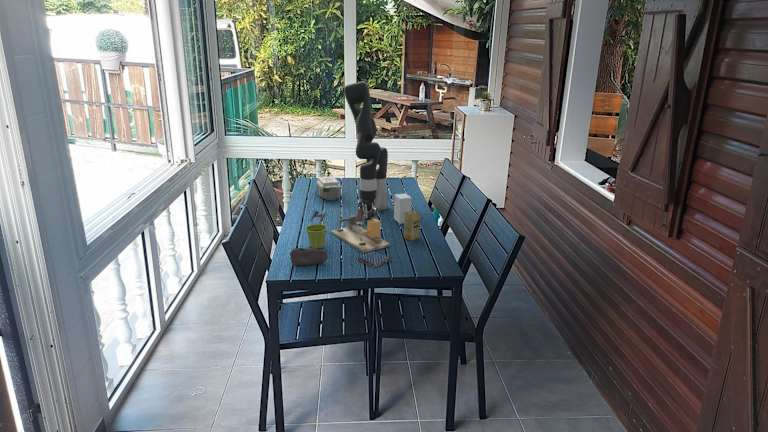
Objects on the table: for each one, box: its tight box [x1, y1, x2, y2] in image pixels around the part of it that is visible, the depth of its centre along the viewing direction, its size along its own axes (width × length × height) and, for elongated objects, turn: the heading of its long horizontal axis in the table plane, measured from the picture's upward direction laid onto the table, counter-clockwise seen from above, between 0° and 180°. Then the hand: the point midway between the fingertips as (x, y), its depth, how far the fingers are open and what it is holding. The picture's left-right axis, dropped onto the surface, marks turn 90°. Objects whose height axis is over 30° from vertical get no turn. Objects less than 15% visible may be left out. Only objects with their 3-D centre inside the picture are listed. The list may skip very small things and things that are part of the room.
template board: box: [331, 214, 391, 254], centre depth 230 cm, size 14×28×7 cm, turn 34°
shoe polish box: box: [403, 210, 421, 241], centre depth 232 cm, size 5×5×12 cm
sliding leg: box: [360, 218, 381, 241], centre depth 224 cm, size 9×4×8 cm, turn 124°
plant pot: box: [305, 223, 328, 249], centre depth 222 cm, size 9×9×9 cm
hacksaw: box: [309, 210, 328, 225], centre depth 256 cm, size 24×10×2 cm, turn 177°
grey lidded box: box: [315, 175, 342, 201], centre depth 294 cm, size 12×28×10 cm, turn 16°
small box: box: [393, 193, 413, 225], centre depth 254 cm, size 8×6×13 cm
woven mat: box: [357, 250, 392, 269], centre depth 210 cm, size 10×11×2 cm
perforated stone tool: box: [289, 247, 329, 266], centre depth 205 cm, size 15×5×7 cm, turn 100°
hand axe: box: [346, 208, 364, 227], centre depth 260 cm, size 27×2×10 cm
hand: (367, 225), depth 229 cm, fingers closed
